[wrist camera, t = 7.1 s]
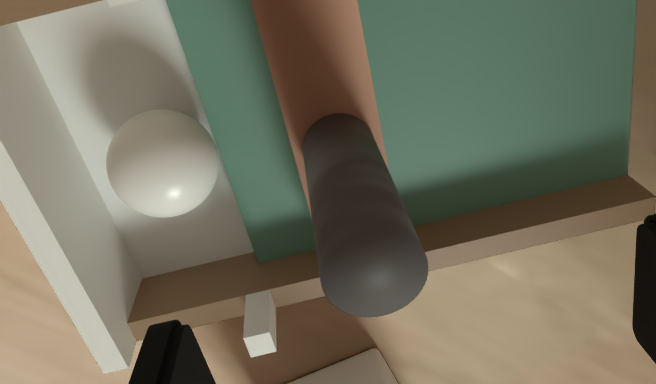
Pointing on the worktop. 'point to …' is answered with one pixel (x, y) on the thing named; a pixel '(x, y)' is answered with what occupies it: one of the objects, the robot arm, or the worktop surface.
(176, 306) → the pitch
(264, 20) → the striker
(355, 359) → the medicine bottle
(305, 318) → the worktop surface
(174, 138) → the ball
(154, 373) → the robot arm
